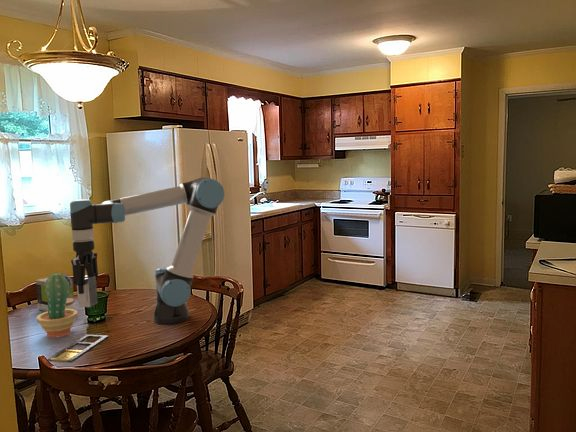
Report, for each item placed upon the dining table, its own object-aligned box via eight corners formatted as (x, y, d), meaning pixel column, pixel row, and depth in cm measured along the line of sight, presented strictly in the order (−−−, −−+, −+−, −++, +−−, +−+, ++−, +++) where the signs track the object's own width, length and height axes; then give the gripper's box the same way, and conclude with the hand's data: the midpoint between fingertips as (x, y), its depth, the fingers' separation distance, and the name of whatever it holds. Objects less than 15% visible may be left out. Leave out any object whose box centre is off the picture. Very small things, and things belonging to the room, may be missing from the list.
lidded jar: (65, 322, 213) (63, 301, 212) (44, 321, 215) (42, 300, 214) (80, 314, 223) (79, 294, 222) (59, 313, 225) (58, 293, 224)
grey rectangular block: (97, 303, 191) (95, 275, 190) (90, 307, 186) (88, 278, 185) (86, 302, 192) (84, 275, 190) (78, 306, 187) (76, 278, 186)
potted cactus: (82, 334, 197) (77, 274, 194) (40, 343, 189) (34, 280, 186) (75, 324, 210) (71, 267, 207) (35, 331, 202) (30, 272, 199)
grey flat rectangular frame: (108, 336, 194) (108, 335, 194) (71, 361, 171) (71, 360, 171) (86, 335, 196) (86, 334, 196) (47, 360, 173) (47, 359, 173)
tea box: (75, 308, 232) (73, 278, 230) (55, 314, 224) (53, 283, 222) (57, 304, 240) (54, 275, 238) (37, 309, 232) (34, 279, 230)
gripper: (88, 236, 195) (92, 292, 198) (59, 244, 178) (64, 306, 181) (105, 236, 194) (109, 293, 197) (77, 244, 176) (82, 306, 179)
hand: (87, 299), depth 189 cm, fingers closed on grey rectangular block, 5 cm apart
